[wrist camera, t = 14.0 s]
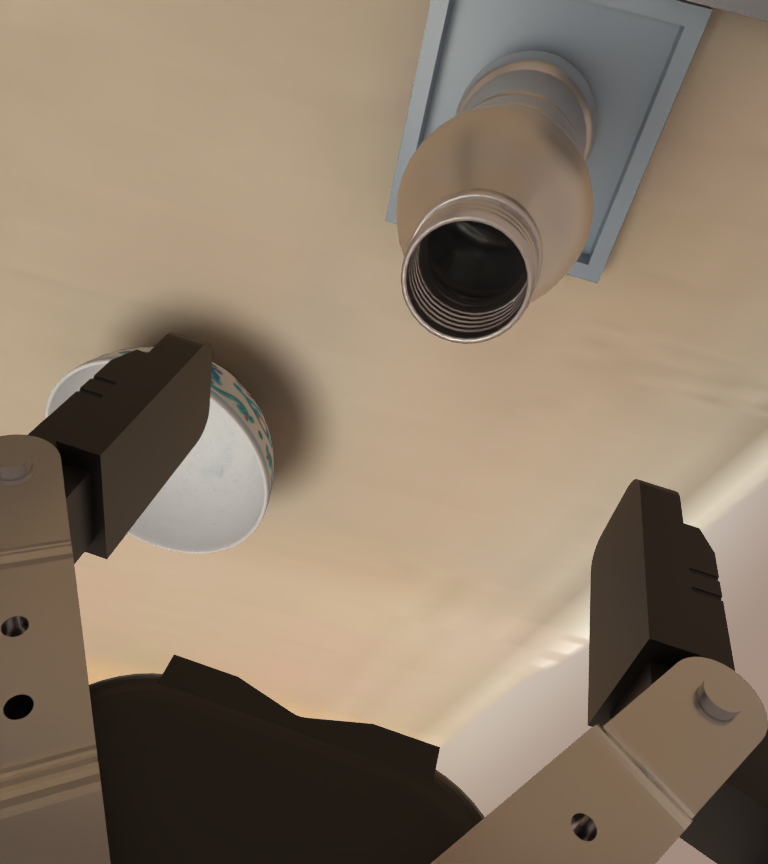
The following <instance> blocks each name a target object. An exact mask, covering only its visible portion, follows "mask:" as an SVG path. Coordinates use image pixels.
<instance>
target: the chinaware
mask: <svg viewBox="0 0 768 864" xmlns="http://www.w3.org/2000/svg"><path fill="white" fill-rule="evenodd" d="M152 348H154V347H137V348H129V349H124V350H119V351H116V352H112V353H109V354H106V355H103V356H100V357H97V358H95V359H92V360H90V361H88V362H86V363H84V364H82V365H80V366H78V367H76V368H75V369H73V370H72V371H70V372H69V373H67V374H66V375H65V376H64V377H63V378H62V379H61V380H60V381H59V382H58V383H57V384H56V386H55V387H54V389H53V390H52V392H51V394H50V396H49V399H48V402H47V406H46V411H45V419H46V418H47V417H48V416H49V415H50V414H52V413H53V412H54V411H55V410H56V409H57V408H58V407H59V406H60V405H62V404H63V403H64V402H65V401H66V400H67V399H68V398H69V397H70V396H72V395H73V394H74V393H75V392H76V391H78V392H79V390H80V387H82V386H83V385H84V384H85V383H86V382H87V381H88V380H89V379H90V378H91V379H93V378H94V375H95V374H96V373H97V372H98V371H99V370H100V369H102V368H103V367H104V366H105V365H106V364H107V363H108V362H109V361H110V360H112V359H115V358H117V357H119V356H122V355H124V354H127V353H129V352H132V351H134V350H140V351H143V352H146V353H148V352H149V351H150V350H151V349H152ZM273 474H274V455H273V446H272V441H271V436H270V432H269V429H268V426H267V423H266V421H265V418H264V416H263V414H262V412H261V410H260V408H259V406H258V405H257V403H256V402H255V400H254V399H253V397H252V396H251V394H250V393H249V392H248V391H247V390H246V388H245V387H244V386H243V385H242V384H241V383H240V382H239V381H238V380H237V379H236V378H235V377H234V376H233V375H232V374H231V373H229V372H228V371H227V370H225V369H224V368H222V367H220V366H219V365H217V364H215V363H213V362H212V374H211V392H210V409H209V416H208V420H207V424H206V426H205V429H204V432H203V434H202V436H201V438H200V439H199V441H198V442H197V444H196V445H195V446H194V447H193V449H192V450H191V451H190V453H189V454H188V455H187V456H186V458H185V459H184V460H183V462H182V463H181V464H180V465H179V467H178V468H177V469H176V471H175V472H174V473H173V475H172V476H171V477H170V478H169V480H168V481H167V482H166V484H165V485H164V486H163V487H162V489H161V490H160V491H159V493H158V494H157V495H156V496H155V498H154V499H153V500H152V502H151V503H150V504H149V506H148V507H147V508H146V509H145V511H144V512H143V513H142V515H141V516H140V517H139V518H138V520H137V521H136V522H135V524H134V525H133V526H132V527H131V529H130V530H129V531H128V533H127V534H129V535H130V536H132V537H134V538H136V539H139V540H141V541H143V542H146V543H148V544H151V545H154V546H157V547H160V548H163V549H167V550H171V551H177V552H183V553H212V552H218V551H222V550H225V549H228V548H231V547H233V546H236V545H238V544H239V543H241V542H243V541H244V540H245V539H247V538H248V537H249V536H250V535H251V534H252V533H253V532H254V531H255V530H256V528H257V527H258V526H259V524H260V522H261V521H262V519H263V517H264V514H265V512H266V509H267V506H268V502H269V498H270V494H271V489H272V483H273Z"/></svg>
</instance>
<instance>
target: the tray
mask: <svg viewBox="0 0 768 864" xmlns="http://www.w3.org/2000/svg"><path fill="white" fill-rule="evenodd" d="M712 11H713V10H712V9H711V8H710V7H709V6H706V5H702V4H698V3H694V2H690V1H686V0H431V3H430V7H429V12H428V17H427V22H426V27H425V31H424V36H423V41H422V46H421V51H420V56H419V60H418V65H417V70H416V75H415V80H414V84H413V89H412V94H411V99H410V104H409V109H408V113H407V118H406V123H405V128H404V133H403V137H402V142H401V147H400V152H399V157H398V162H397V166H396V171H395V176H394V181H393V186H392V190H391V195H390V200H389V205H388V210H387V215H386V219H385V221H387V222H391V223H394V224H397V220H396V206H397V194H398V190H399V186H400V182H401V178H402V176H403V173H404V171H405V169H406V167H407V165H408V163H409V160H410V158H411V157H412V156H413V154H414V153H415V152H416V150H417V149H418V147H419V146H420V145H421V143H422V142H423V141H424V140H425V139H426V138H427V137H428V136H429V135H430V134H431V133H433V132H434V131H435V130H436V129H437V128H438V127H440V126H441V125H442V124H443V123H445V122H447V121H448V120H450V119H451V118H453V117H455V115H456V112H457V108H458V105H459V102H460V100H461V98H462V96H463V94H464V92H465V90H466V89H467V87H468V86H469V84H470V83H471V82H472V80H473V79H474V77H475V76H477V75H478V74H479V73H480V72H481V71H482V70H483V69H484V68H485V67H486V66H488V65H489V64H491V63H492V62H494V61H495V60H497V59H498V58H501V57H503V56H506V55H508V54H511V53H514V52H520V51H526V50H533V51H544V52H548V53H551V54H554V55H557V56H559V57H561V58H563V59H564V60H566V61H568V62H569V63H571V64H572V65H573V66H574V67H575V68H576V69H577V70H578V71H579V72H580V73H581V74H582V76H583V77H584V79H585V80H586V82H587V83H588V85H589V87H590V89H591V92H592V94H593V97H594V99H595V105H596V111H597V132H596V137H595V142H594V146H593V149H592V151H591V154H590V156H589V158H588V161H587V162H586V165H587V167H588V170H589V175H590V180H591V186H592V191H593V219H592V223H591V228H590V232H589V237H588V239H587V241H586V243H585V246H584V248H583V250H582V253H581V255H580V256H579V258H578V259H577V261H576V262H575V264H574V265H573V267H572V268H571V270H570V271H569V272H568V273H567V275H570V276H574V277H577V278H581V279H584V280H587V281H591V282H594V283H598V281H599V279H600V276H601V274H602V272H603V269H604V267H605V265H606V262H607V260H608V257H609V255H610V253H611V250H612V248H613V246H614V243H615V241H616V238H617V236H618V234H619V231H620V229H621V227H622V224H623V222H624V219H625V217H626V215H627V212H628V210H629V208H630V205H631V203H632V200H633V198H634V196H635V193H636V191H637V189H638V186H639V184H640V181H641V179H642V177H643V174H644V172H645V170H646V167H647V165H648V162H649V160H650V158H651V155H652V153H653V151H654V148H655V146H656V144H657V141H658V139H659V136H660V134H661V132H662V129H663V127H664V125H665V122H666V120H667V117H668V115H669V113H670V110H671V108H672V106H673V103H674V101H675V98H676V96H677V94H678V91H679V89H680V87H681V84H682V82H683V79H684V77H685V75H686V72H687V70H688V68H689V65H690V63H691V60H692V58H693V56H694V53H695V51H696V49H697V46H698V44H699V41H700V39H701V37H702V34H703V32H704V30H705V27H706V25H707V22H708V20H709V18H710V15H711V13H712Z"/></svg>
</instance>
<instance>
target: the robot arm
mask: <svg viewBox="0 0 768 864" xmlns="http://www.w3.org/2000/svg"><path fill="white" fill-rule="evenodd" d="M212 356H213V353H212V347H211V346H210V345H209V344H207V343H203V342H200V341H197V340H194V339H191V338H187V337H184V336H181V335H178V334H175V333H169V334H167V335H166V336H165V337H164V338H163V339H162V340H161V341H160V342H159V343H158V344H157V345H156V346H155V347H154V348H152V349H151V350H150V351H149V352H148V353H146V352H143V351H140V350H134V351H132V352H129V353H127V354H124V355H122V356H119V357H117V358H115V359H112V360H110V361H109V362H108V363H107V364H106V365H105V366H104V367H103V368H102V369H100V370H99V371H98V372H97V373H96V374H95V375H94V378H93V379H91V378H90V379H89V380H88V381H87V382H86V383H85V384H84V385H83V386H82V387H80V390H79V392H78V391H76V392H75V393H74V394H73V395H72V396H70V397H69V398H68V399H67V400H66V401H65V402H64V403H63V404H62V405H60V406H59V407H58V408H57V409H56V410H55V411H54V412H53V413H52V414H50V415H49V416H48V417H47V418H46V419H45V420H44V421H43V422H42V423H40V424H39V425H38V426H37V427H36V428H35V429H34V430H33V431H32V432H30V433H29V434H28V435H6V436H0V864H655V863H656V862H657V861H658V860H659V859H660V858H661V857H662V856H663V855H664V853H665V852H666V851H667V850H668V849H669V848H670V847H671V845H672V844H673V843H674V842H675V841H676V840H677V839H678V838H679V837H680V838H681V839H683V840H684V841H686V842H687V843H689V844H690V845H692V846H693V847H694V848H696V849H697V850H699V851H700V852H701V853H703V854H704V855H706V856H707V857H709V858H710V859H711V860H713V861H714V862H716V863H717V864H768V720H767V714H766V711H765V708H764V705H763V703H762V701H761V699H760V698H759V696H758V695H757V693H756V692H755V690H754V689H753V688H752V687H751V686H750V684H749V683H748V682H747V681H746V680H745V679H743V677H741V676H740V675H739V674H738V673H736V672H735V668H734V662H733V656H732V651H731V645H730V639H729V633H728V628H727V622H726V617H725V611H724V604H723V601H721V598H722V593H721V588H720V582H719V581H718V577H719V576H718V570H717V564H716V558H715V553H714V551H713V550H712V548H711V547H710V545H709V543H708V542H707V540H706V539H705V537H704V535H703V534H702V532H701V531H700V529H699V528H696V527H693V526H690V525H687V524H683V517H682V509H681V502H680V496H679V493H678V492H676V491H673V490H670V489H666V488H663V487H660V486H657V485H654V484H650V483H647V482H644V481H641V480H638V479H635V480H633V481H632V482H631V484H630V485H629V486H628V488H627V490H626V492H625V493H624V495H623V497H622V499H621V501H620V502H619V504H618V506H617V508H616V510H615V511H614V513H613V515H612V517H611V519H610V520H609V522H608V524H607V526H606V528H605V529H604V531H603V533H602V535H601V537H600V539H599V541H598V543H597V546H596V549H595V552H594V556H593V560H592V566H591V597H590V645H589V694H588V696H589V697H588V725H589V726H592V728H591V729H589V730H588V731H587V732H586V733H584V734H583V735H582V736H581V737H580V738H578V739H577V740H576V741H575V742H574V743H572V744H571V745H570V746H569V747H568V748H567V749H565V750H564V751H563V752H562V753H561V754H559V755H558V756H557V757H556V758H555V759H554V760H552V761H551V762H550V763H549V764H548V765H547V766H545V767H544V768H543V769H542V770H541V771H539V772H538V773H537V774H536V775H535V776H533V777H532V778H531V779H530V780H529V781H528V782H526V783H525V784H524V785H523V786H522V787H520V788H519V789H518V790H517V791H516V792H515V793H513V794H512V795H511V796H510V797H509V798H507V799H506V800H505V801H504V802H503V803H502V804H500V805H499V806H498V807H497V808H496V809H494V810H493V811H492V812H491V813H490V814H489V815H487V816H486V817H484V816H483V814H482V813H481V812H480V811H479V810H478V808H477V807H476V806H475V804H474V803H473V802H472V801H471V799H470V798H469V797H468V796H467V795H466V794H465V793H464V792H463V791H462V790H461V789H460V788H459V787H458V786H456V785H455V784H454V783H453V782H452V781H451V780H449V779H448V778H447V777H446V776H444V775H443V774H441V773H440V772H438V771H437V770H436V764H437V759H438V754H439V749H440V747H437V746H434V745H431V744H428V743H425V742H423V741H420V740H417V739H414V738H411V737H408V736H405V735H403V734H400V733H397V732H394V731H391V730H388V729H385V728H383V727H380V726H377V725H374V724H366V723H355V722H344V721H333V720H322V719H312V718H304V717H300V716H297V715H295V714H293V713H291V712H290V711H288V710H287V709H285V708H284V707H282V706H281V705H279V704H278V703H276V702H275V701H273V700H272V699H270V698H269V697H267V696H266V695H264V694H263V693H261V692H260V691H258V690H257V689H255V688H254V687H252V686H251V685H249V684H248V683H246V682H245V681H243V680H242V679H240V678H239V677H237V676H234V675H231V674H228V673H225V672H222V671H219V670H217V669H214V668H211V667H208V666H205V665H202V664H199V663H197V662H194V661H191V660H188V659H185V658H182V657H179V656H176V655H174V656H173V658H172V659H171V661H170V663H169V665H168V666H167V668H166V670H165V671H164V673H163V674H154V673H152V674H132V675H125V676H118V677H114V678H110V679H106V680H102V681H99V682H96V683H93V684H91V685H89V683H88V675H87V666H86V658H85V650H84V642H83V633H82V625H81V617H80V609H79V600H78V592H77V584H76V576H75V567H74V564H75V563H76V561H77V560H78V559H79V558H80V557H81V555H82V554H83V553H84V552H88V553H91V554H93V555H96V556H99V557H102V558H105V559H107V558H108V557H109V556H110V555H111V553H112V552H113V551H114V549H115V548H116V547H117V546H118V544H119V543H120V542H121V540H122V539H123V538H124V537H125V535H126V534H127V533H128V531H129V530H130V529H131V527H132V526H133V525H134V524H135V522H136V521H137V520H138V518H139V517H140V516H141V515H142V513H143V512H144V511H145V509H146V508H147V507H148V506H149V504H150V503H151V502H152V500H153V499H154V498H155V496H156V495H157V494H158V493H159V491H160V490H161V489H162V487H163V486H164V485H165V484H166V482H167V481H168V480H169V478H170V477H171V476H172V475H173V473H174V472H175V471H176V469H177V468H178V467H179V465H180V464H181V463H182V462H183V460H184V459H185V458H186V456H187V455H188V454H189V453H190V451H191V450H192V449H193V447H194V446H195V445H196V444H197V442H198V441H199V439H200V438H201V436H202V434H203V432H204V429H205V426H206V424H207V420H208V416H209V409H210V392H211V374H212Z"/></svg>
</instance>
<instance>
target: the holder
mask: <svg viewBox="0 0 768 864" xmlns="http://www.w3.org/2000/svg"><path fill="white" fill-rule="evenodd" d="M686 1H690V2H694V3H698V4H702V5H706V6H709V7H713V8H717V9H721V10H725V11H729V12H732V13H736V14H740V15H744V16H748V17H752V18H755V19H759V20H763V21H767V22H768V0H686Z"/></svg>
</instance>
